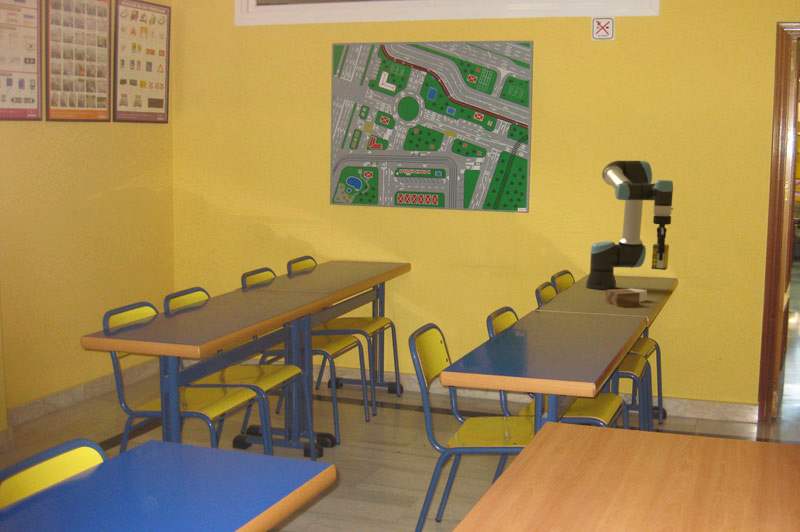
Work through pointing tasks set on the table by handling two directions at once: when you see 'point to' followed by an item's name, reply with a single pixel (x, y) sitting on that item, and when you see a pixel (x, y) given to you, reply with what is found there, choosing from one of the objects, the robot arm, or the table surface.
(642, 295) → the off-white block
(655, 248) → the supplement box
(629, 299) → the walnut block
